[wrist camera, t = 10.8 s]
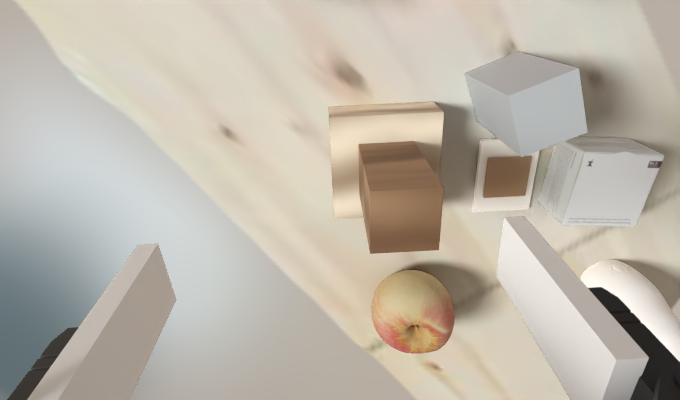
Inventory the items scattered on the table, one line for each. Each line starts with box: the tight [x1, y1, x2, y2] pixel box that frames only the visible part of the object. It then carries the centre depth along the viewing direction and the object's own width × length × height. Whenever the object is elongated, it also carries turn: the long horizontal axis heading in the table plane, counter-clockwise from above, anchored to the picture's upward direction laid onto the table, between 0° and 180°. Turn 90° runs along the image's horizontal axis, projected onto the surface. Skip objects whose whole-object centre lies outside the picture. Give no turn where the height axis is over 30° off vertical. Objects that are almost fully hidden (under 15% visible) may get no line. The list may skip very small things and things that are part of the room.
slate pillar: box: [464, 52, 588, 157], centre depth 34 cm, size 5×5×10 cm
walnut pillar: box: [358, 141, 444, 254], centre depth 33 cm, size 5×5×10 cm
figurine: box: [580, 259, 680, 362], centre depth 44 cm, size 7×8×12 cm
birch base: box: [328, 102, 444, 219], centre depth 39 cm, size 10×10×4 cm
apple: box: [372, 270, 454, 353], centre depth 45 cm, size 9×9×8 cm
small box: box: [538, 137, 664, 226], centre depth 41 cm, size 8×8×5 cm
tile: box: [472, 138, 539, 212], centre depth 42 cm, size 8×6×1 cm
